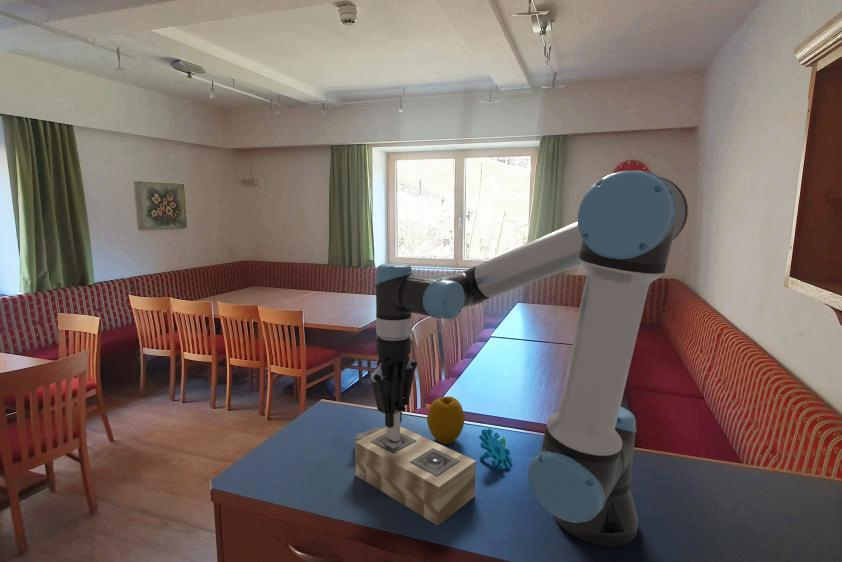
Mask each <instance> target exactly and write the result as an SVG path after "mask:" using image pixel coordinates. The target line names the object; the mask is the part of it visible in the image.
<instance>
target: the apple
mask: <svg viewBox="0 0 842 562" xmlns="http://www.w3.org/2000/svg"><path fill="white" fill-rule="evenodd" d="M427 411H428V412H427V416H426V417H427V418H426V423H427V426H428V429H429V431H430V434H431V435H432V437H433V438H434V439H435V440H436V442H437V443H439V444H441V445H446V444H447V445H449V444H452V443H454V442H455V441H456V440H457V439H458V438H459V437H460V435H461V433H462V431H463V429H464V425H465V419H466V418H465V413H464V409H463V406H462V403H460V401H459V400H457V398H455V397H453V396H440V397H438V398H436V399H435V400H433V401H432V403H431V404H430V406H429V408H428V410H427Z"/></svg>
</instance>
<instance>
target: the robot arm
mask: <svg viewBox="0 0 842 562" xmlns="http://www.w3.org/2000/svg"><path fill="white" fill-rule="evenodd" d="M688 216H689V205H688V201H687V198H686V196H685V194H684V192H683V191H682V189H681V188H680V187H679V186H678V185H677V184H676V183H675V182H673V181H671V180H669V179H667V178H665V177H662V176H659V175H658V174H655V173H652V172H650V171H643V170H639V169H637V170H628V169H627V170H622V171H621V170H620V171H617V172H613V173H610V174H607V175H606V176H604V177H602V178H601V179H599V180H597V181H596V182H595V183H594V184H593V185H592V186H590V188H588V190H587V191H586V193H584V195H583V197H582V199H581V201H580V204H579V207H578V210H577V216H576V217H577V220H576V221H575V222H573V223H571V224H569V225H566V226H564V227H562V228H559V229H557V230H555V231H553V232H551V233H547V234H546V235H544V236H541V237H539V238H537V239H534V240H532V241H530V242H527V243H526V244H523V245H521V246H519V247H516V248H514V249H512V250H511V249H510V251H507V252H505V253H502V254H501V255H497V256H495V257H493V258H491V259H489V260H487V261H484V262H482V263H480V264H477V265H476V266H473V267H471V268H468V269H466V270H464V271H461V272H457V273H452V274H447V275H442V276H436V277H427V276H426V277H425V276H417V275H413V271H412V270H413V269H412V266H411V264H407V263H401V262H400V263H397V262H394V263H393V262H392V263H391V262H389V263H381V264H380V265H378V266H377V268H376V272H375V273H376V274H375V284H374V286H375V307H376V308H375V335H377V336H376V338H375V352H376V354H377V356H378V360H377V363H376V369H375V370H374V371H373V372H372V371H370V372H368V374H367V377H368V379H369V380H370V382H371V384H372V391H373V394H374V400H375V404H376V408H377V409H376V410H377V411H378V412H380V413H381V414H382V413H383V414H384V426H385V427H387V438H388V439H390V440H392V441H394V442H396V441H398V440H400V426H401V423H402V420H403V418H402V417H403V416H402V415H403V414H402V413H403V412H405V411H406V409H407V408H406V407H405V406H408V405H409V403H410V397H411V391H412V387H413V381H414V376H415V374H414V373H415V371H416V368H417V366H418V362H417V361H415V360H412V359H411V357H410V354H411V352H412V337H411V335H412V314H416V315H422V316H426V317H431V318H434V319H438V320H439V319H440V320H441V319H445V320H453V319H456V318H457V317H458V315H459V313H461V312H462V311H463V309H464V308H467V307H470V306H475V305H479V304H481V303H484V302H485V301H486V300H489V299H491V298H494V297H497V296H500V295H503V294H505V293H508V292H510V291H513V290H516V289H518V288H521V287H524V286H526V285H529V284H532V283H534V282H537V281H540V280H542V279H546V278H548V277H550V276H554V275H557V274H559V273H561V272H562V273H563V272H564V271H567V270H569V269H572V268H575V267H579V266H580V265H582V267H583V268H584V269H585V271H586V276H585V281H584V285H583V291H582V297H581V300H580V305H579V311H578V315H577V316H578V317H577V320H576V326H575V330H574V334H573V340H572V345H571V350H570V355H569V359H568V364H567V369H566V373H565V379H564V383H563V388H562V395H561V399H560V404H559V410H558V411H557V412H556V413H554V414H551V415H550V416H549V417H548V418H547V420H546V425H545V429H544V434H543V439H542V444H541V448H540V451H539V452H538V453H536V455H534V457H533V458H532V460H531V462H530V463H529V467H528V471H527V478H528V483H529V484H528V485H529V487H530V488H531V489H530V490H531V491H532V494H533V495H535V496H536V498H537V501H538V502H539V503H540V504H541V506H542V507H543V508H545V509H546V510H547V511H548V512H549V513H551V514H552V515H553V516H554V518H555V520H556V522H557V523H558V525H559V526H560V527H561V528H562V529H563V530H564V531H565V532H567V533H568V534H570V535H571V536H573V537H574V538H576V539H578V540H580V541H582V542H585V543H588V544H590V545H594V546H599V547H609V548H610V547H612V548H613V547H622V546H624V545H627V544H630V543H631V542H632V541H633V540H634V539H635V538H636V536H637V533H638V525H639V524H638V523H639V519H638V514H637V510H636V506H635V503H634V502H635V501H634V499H633V495H632V492H631V485H632V484H631V481H632V472H633V462H634V451H635V450H634V449H635V440H636V433H637V425H636V421H637V419H636V417H635V415H634V414H633V413H632V412H631V411H630V410H628V409H626V408H625V407H622V406H621V405H622V401H623V397H624V392H625V388H626V385H627V379H628V375H629V370H630V367H631V363H632V359H633V356H634V350H635V348H636V347H635V346H636V342H637V337H638V333H639V330H640V325H641V321H642V316H643V313H644V308H645V303H646V300H647V296H648V291H649V288H650V285H651V284H652V282H654V281H655V280H657V279H659V278H661V277H662V276H664V275H665V273H666V272H665V271H666V267H667V264H668V260H669V257H670V252H671V247H672V243H673V241H674V240H676V239H677V237H679V235H680V233H682V231H683V230H684V228H685V226H686V224H687V221H688Z"/></svg>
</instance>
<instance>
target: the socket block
mask: <svg viewBox="0 0 842 562" xmlns="http://www.w3.org/2000/svg"><path fill="white" fill-rule="evenodd" d="M382 428H383V429H381V430H379V431H377V432H375V433H373V434H371V435H369V436H367V437H365V438H363V439H361V440H359V441H356V442H355V441H354V444H355V445H354V447H355V448H354V449H355V452H354V453H355V456H354V457H355V460H354V461H355V476H357V478H359V479H361V480H362V481H364V482H366V483H368V484H369V485H371V486H372V487H374V488H376V489H378V490H379V491H380V492H381V493H384V494H385V495H387V496H388V497H390V498H392V499H393V500H396V501H397V502H398V503H400V504H402V505H403V506H405V507H407V508H408V509H409V510H412V511H413V512H415V513H416V514H418V515H420V516H421V517H423V518H425V519H426V520H428V521H429V522H431V523H433V524H434V525H436V526H440V525H441V524H442V523H444V522H445V521H447V519H449V518H450V517H451V516H452V515H454V514H455V513H456V512H457V511H458V510H460V509H461V508H462V507H464V506H465V505H466V504H467V503H468V502H470V501H471V500H473V498H475V497H476V474H477V473H476V471H477V470H476V468H477V460H476V459H473V458H470V457H468V456H466V455H464V454H462V453H460V452H457V451H455V450H453V449H452V448H451V449H450V448H449V447H446V446H445V445H443V444H441V443H439V442H437V441H436V442H435V441H434V440H431V439H428V438H427V437H424V436H422V435H420V434H418V433H416V432H414V431H411V430H409V429H407V428H405V427H402V426H401V425H400V437H401V439H402V444H401V445H400V446H398V447H396V448H394V449H393V448H391V447H389V446H387V445H386V438H387V426H385V427H382ZM431 455H438V456H441V457H442V458H443V459H444V466H443V467H441V468H440V469H438V470H434V469H432V468H430V467H428V466H426V458H427V457H429V456H431Z"/></svg>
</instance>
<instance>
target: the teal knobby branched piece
mask: <svg viewBox="0 0 842 562" xmlns="http://www.w3.org/2000/svg"><path fill="white" fill-rule="evenodd" d="M500 437H501V436H500V435H499V433H498V432H493V429H491V428H488V429H482V430H481V434H480V435H479V436H478V439H479V440H480V441H482V442H480V448H481V449H484V450H486V451H485V452H484V453H483V454H482V455H480V456H479V460H480V461H485V460H486V459H489V458H492V459H493V460H491V464H492V466H493V467H496V466H498V468H499V470H501V471H504V470H505V469H506V470H508V469H509V468H511V464H510V463H512V462H513V459H512V457H510V456H509V455H511V449H509V448H506V445H507V444H506V442H507V438H505V437H504V436H503V437H502V438H500ZM499 438H500V439H499Z"/></svg>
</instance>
